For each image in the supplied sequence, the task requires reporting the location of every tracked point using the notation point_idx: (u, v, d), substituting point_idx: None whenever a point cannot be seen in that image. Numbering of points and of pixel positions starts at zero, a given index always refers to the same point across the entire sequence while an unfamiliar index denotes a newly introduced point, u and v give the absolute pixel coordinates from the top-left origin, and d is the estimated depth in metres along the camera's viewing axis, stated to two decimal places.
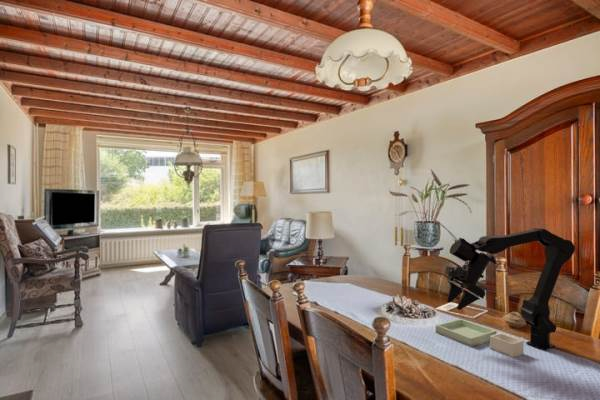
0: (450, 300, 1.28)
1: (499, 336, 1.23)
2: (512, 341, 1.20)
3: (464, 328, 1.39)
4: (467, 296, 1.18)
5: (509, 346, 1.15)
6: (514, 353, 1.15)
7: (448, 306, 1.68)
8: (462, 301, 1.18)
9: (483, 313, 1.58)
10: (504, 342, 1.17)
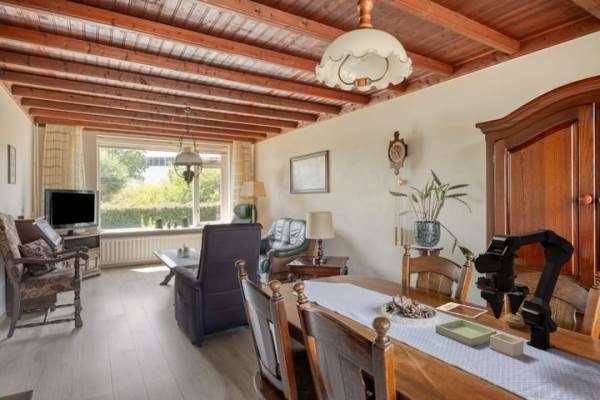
0: (514, 312, 1.21)
1: (499, 336, 1.23)
2: (512, 341, 1.20)
3: (464, 328, 1.39)
4: (494, 303, 1.17)
5: (509, 346, 1.15)
6: (514, 353, 1.15)
7: (448, 306, 1.68)
8: (493, 309, 1.17)
9: (483, 313, 1.58)
10: (504, 342, 1.17)
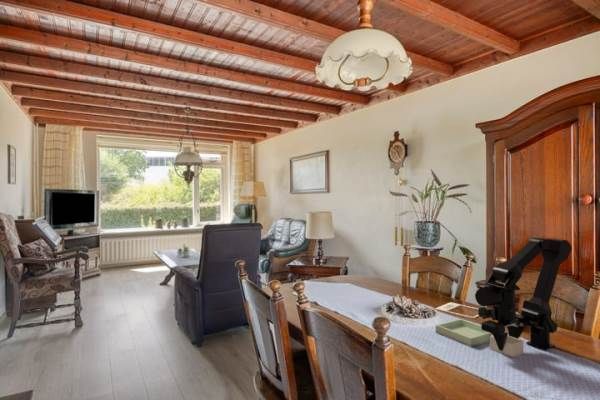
0: None
1: None
2: (512, 341, 1.20)
3: (464, 328, 1.39)
4: (498, 335, 1.17)
5: (509, 346, 1.15)
6: (514, 353, 1.15)
7: (448, 306, 1.68)
8: (496, 341, 1.18)
9: None
10: None
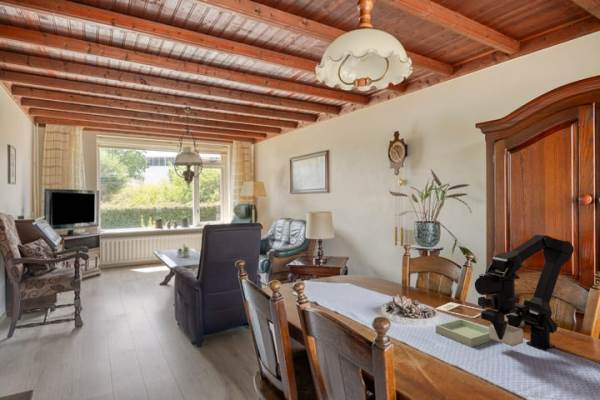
0: None
1: None
2: (512, 330, 1.20)
3: (464, 328, 1.39)
4: (497, 323, 1.17)
5: (508, 335, 1.15)
6: (514, 342, 1.15)
7: (448, 306, 1.68)
8: (496, 330, 1.18)
9: None
10: None
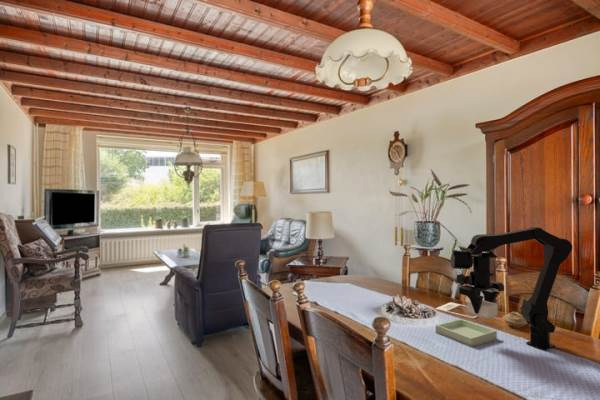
0: None
1: None
2: (487, 305, 1.27)
3: (464, 328, 1.39)
4: (474, 298, 1.25)
5: (484, 309, 1.23)
6: (489, 315, 1.22)
7: (448, 306, 1.68)
8: (473, 304, 1.25)
9: None
10: None
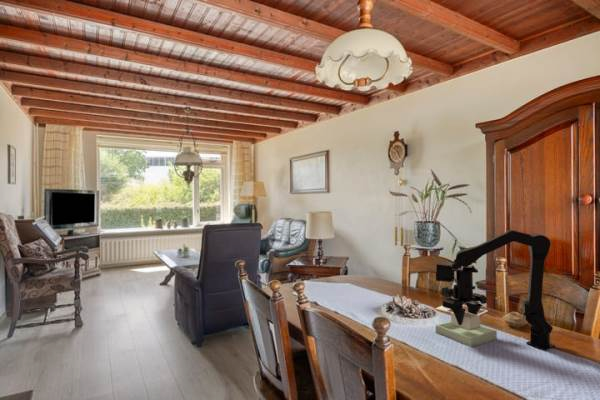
0: None
1: None
2: (471, 317, 1.34)
3: None
4: (457, 311, 1.31)
5: (466, 321, 1.29)
6: (471, 327, 1.29)
7: None
8: (456, 316, 1.32)
9: (483, 313, 1.58)
10: None
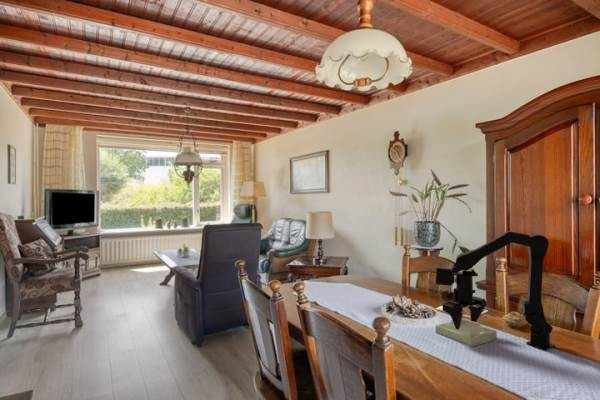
0: None
1: None
2: (471, 324, 1.34)
3: None
4: (454, 315, 1.31)
5: (466, 329, 1.29)
6: (471, 334, 1.29)
7: None
8: (453, 321, 1.31)
9: (483, 313, 1.58)
10: (463, 325, 1.31)
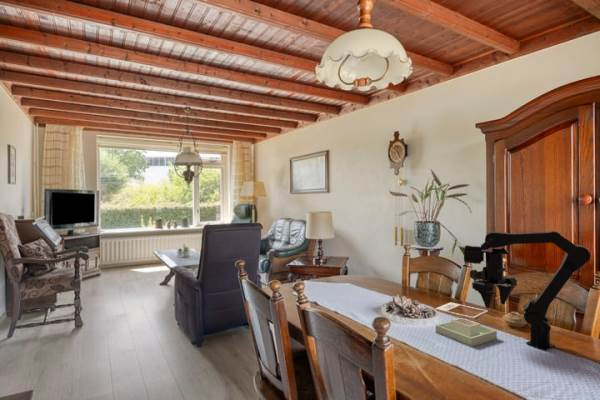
0: (503, 302, 1.33)
1: (460, 320, 1.37)
2: (471, 324, 1.34)
3: None
4: (484, 293, 1.28)
5: (466, 329, 1.29)
6: (471, 334, 1.29)
7: (448, 306, 1.68)
8: (483, 299, 1.29)
9: (483, 313, 1.58)
10: (463, 325, 1.31)
